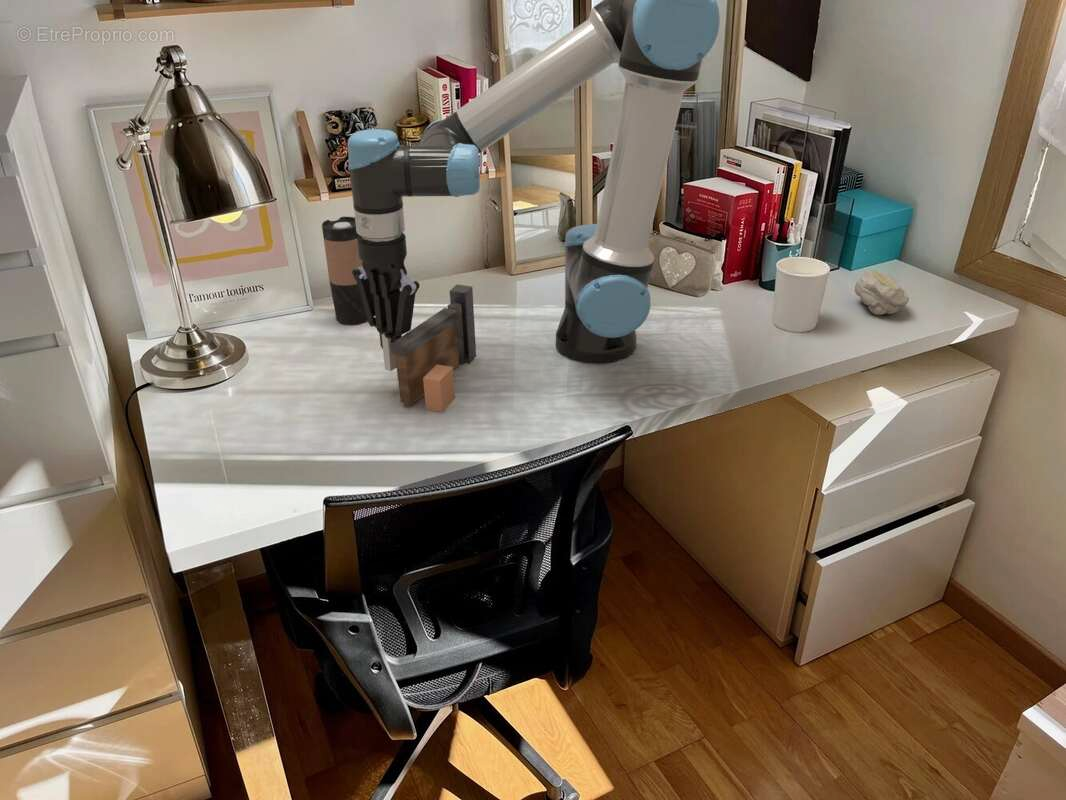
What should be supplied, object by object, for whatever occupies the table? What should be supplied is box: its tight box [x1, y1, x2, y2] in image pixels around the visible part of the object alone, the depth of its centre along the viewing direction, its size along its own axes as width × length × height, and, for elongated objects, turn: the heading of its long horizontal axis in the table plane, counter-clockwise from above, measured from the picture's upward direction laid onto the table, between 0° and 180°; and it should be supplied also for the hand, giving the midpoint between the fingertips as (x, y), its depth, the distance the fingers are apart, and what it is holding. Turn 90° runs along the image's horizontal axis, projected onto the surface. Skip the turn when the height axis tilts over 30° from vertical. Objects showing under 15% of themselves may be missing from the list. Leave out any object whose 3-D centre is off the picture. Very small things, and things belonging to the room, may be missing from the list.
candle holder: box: [772, 256, 831, 333], centre depth 165 cm, size 10×10×12 cm
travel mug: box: [321, 216, 368, 326], centre depth 169 cm, size 8×8×20 cm
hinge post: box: [449, 284, 477, 365], centre depth 154 cm, size 3×3×14 cm
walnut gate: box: [391, 303, 466, 405], centre depth 146 cm, size 18×3×11 cm, turn 151°
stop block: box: [423, 364, 456, 413], centre depth 142 cm, size 3×5×6 cm, turn 159°
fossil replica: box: [854, 269, 910, 316], centre depth 171 cm, size 12×8×10 cm
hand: (393, 366), depth 145 cm, fingers closed
